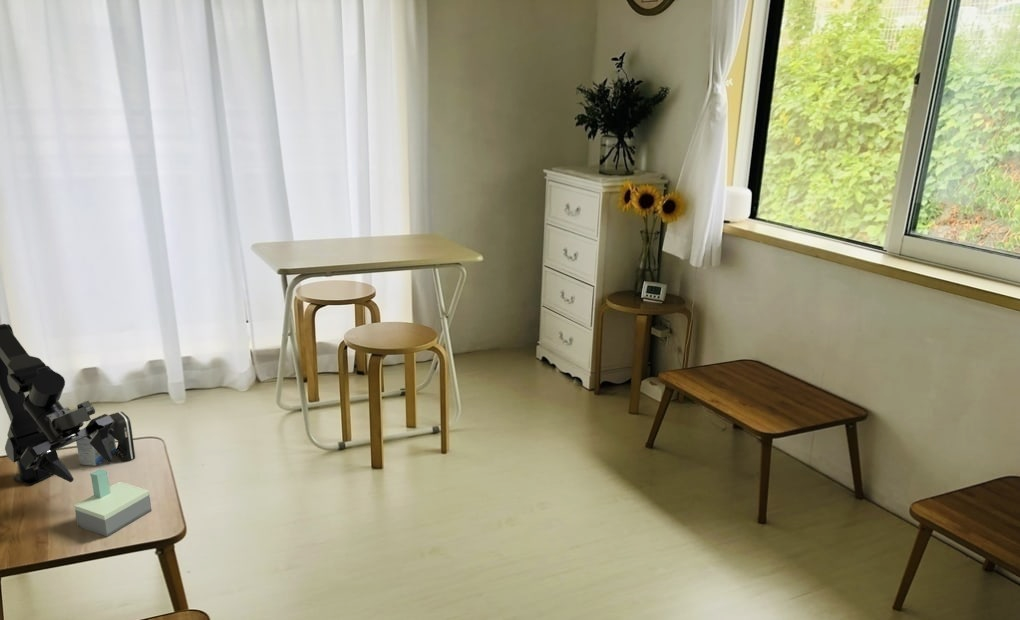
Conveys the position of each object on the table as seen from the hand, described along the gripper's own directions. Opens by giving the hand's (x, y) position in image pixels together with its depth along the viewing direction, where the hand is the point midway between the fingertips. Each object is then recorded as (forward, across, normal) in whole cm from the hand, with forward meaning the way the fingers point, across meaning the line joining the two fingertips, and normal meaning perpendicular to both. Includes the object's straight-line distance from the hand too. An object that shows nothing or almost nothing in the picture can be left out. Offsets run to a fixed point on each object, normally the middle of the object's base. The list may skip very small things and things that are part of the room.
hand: (92, 471), depth 159 cm
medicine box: (-8, +17, +23) cm, 30 cm away
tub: (+11, 0, +4) cm, 11 cm away
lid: (+8, 0, +1) cm, 8 cm away
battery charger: (-5, +20, +19) cm, 28 cm away
